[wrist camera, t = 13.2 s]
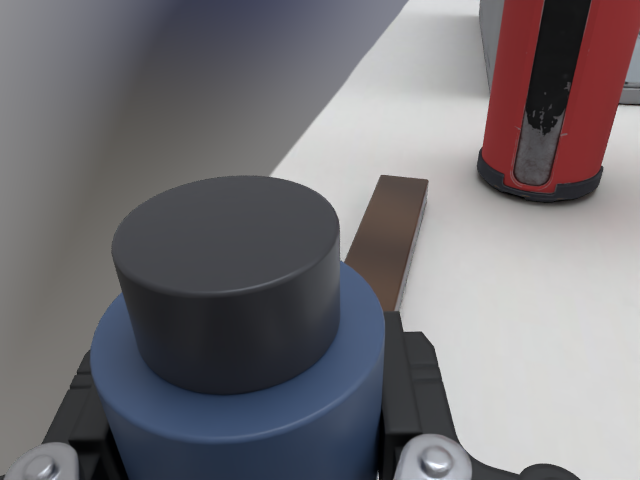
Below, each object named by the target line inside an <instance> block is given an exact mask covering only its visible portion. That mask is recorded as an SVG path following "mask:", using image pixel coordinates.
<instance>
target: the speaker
mask: <svg viewBox="0 0 640 480" xmlns="http://www.w3.org/2000/svg"><path fill="white" fill-rule="evenodd" d="M639 30H640V0H504V7H503V14H502V20H501V27H500V34H499V41H498V47H497V54H496V61H495V67H494V74H493V81H492V87H491V94H490V101H489V107H488V114H487V121H486V128H485V134H484V141H483V147H482V148H481V149H480V151H479V156H478V162H477V169H478V172H479V173H480V175H481V176H482V177H483V178H484V179H485V180H486V181H487V182H488V183H489V184H490V185H491V186H493V187H494V188H495V189H497V190H499V191H501V192H503V193H504V192H508V193H511V194H514V195H517V196H522V197H525V199H526V200H530V201H538V202H553V201H555V200H566V199H576V198H579V197H581V196H583V195H586V194H588V193H590V192H592V191H593V190H595V189H596V188H597V187H598V185H599V183H600V179H601V176H602V172H603V166H601V164H602V160H603V157H604V153H605V150H606V146H607V143H608V139H609V136H610V132H611V129H612V125H613V122H614V118H615V115H616V111H617V107H618V104H619V100H620V97H621V93H622V90H623V86H624V83H625V79H626V76H627V72H628V69H629V65H630V62H631V58H632V55H633V51H634V47H635V44H636V40H637V37H638V33H639Z"/></svg>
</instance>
